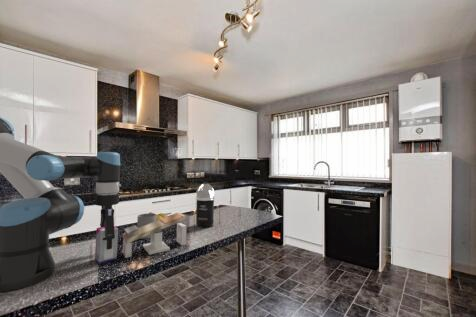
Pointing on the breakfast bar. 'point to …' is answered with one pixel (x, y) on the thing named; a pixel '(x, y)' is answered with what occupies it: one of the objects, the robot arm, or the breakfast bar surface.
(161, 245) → the beam stand
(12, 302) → the breakfast bar surface
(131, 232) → the beam
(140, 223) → the cup
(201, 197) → the spray bottle
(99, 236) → the supplement box
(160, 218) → the bread roll
